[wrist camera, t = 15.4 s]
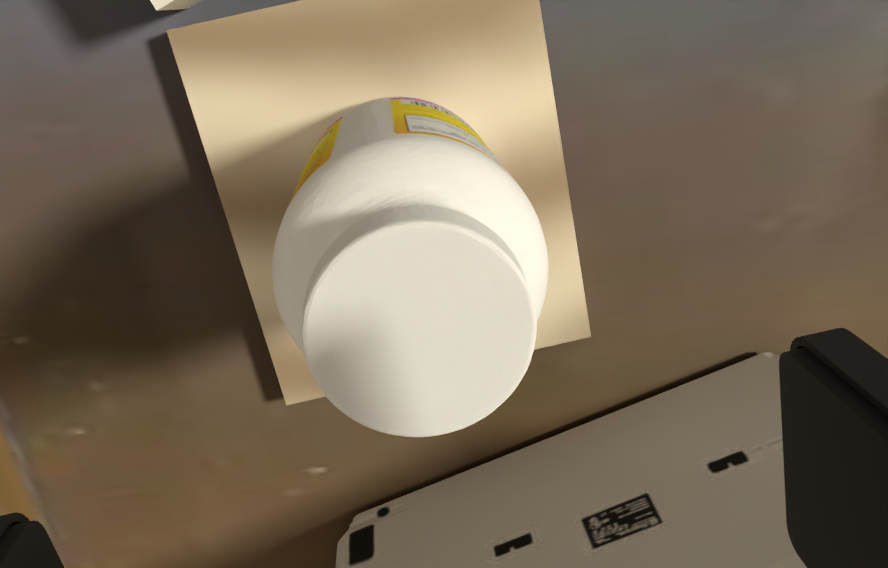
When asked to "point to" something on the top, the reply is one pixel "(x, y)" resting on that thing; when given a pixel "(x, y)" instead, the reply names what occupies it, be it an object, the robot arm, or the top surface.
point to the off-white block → (173, 4)
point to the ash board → (361, 80)
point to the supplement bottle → (410, 269)
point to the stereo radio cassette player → (611, 492)
